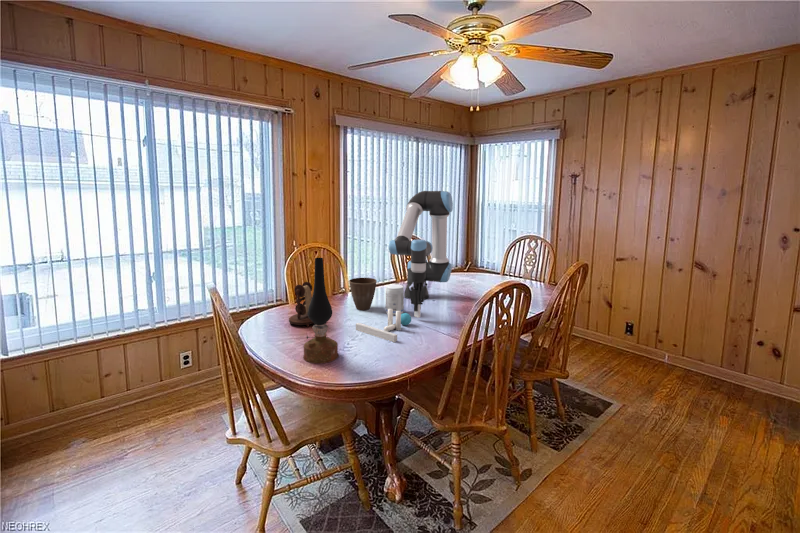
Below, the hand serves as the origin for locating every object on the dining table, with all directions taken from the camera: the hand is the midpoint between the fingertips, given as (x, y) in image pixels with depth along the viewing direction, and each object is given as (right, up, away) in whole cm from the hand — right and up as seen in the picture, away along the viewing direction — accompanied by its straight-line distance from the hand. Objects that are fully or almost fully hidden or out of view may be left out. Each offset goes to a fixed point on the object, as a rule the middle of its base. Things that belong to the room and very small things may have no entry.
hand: (417, 316), depth 211 cm
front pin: (-9, -3, -11) cm, 14 cm away
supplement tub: (-12, 0, +13) cm, 17 cm away
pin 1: (-13, -4, -11) cm, 18 cm away
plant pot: (-29, +2, +20) cm, 35 cm away
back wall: (-20, -6, -22) cm, 30 cm away
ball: (-6, 0, -8) cm, 10 cm away
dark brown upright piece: (-56, -2, -6) cm, 56 cm away
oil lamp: (-40, -10, -47) cm, 62 cm away
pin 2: (-10, -4, -14) cm, 18 cm away
